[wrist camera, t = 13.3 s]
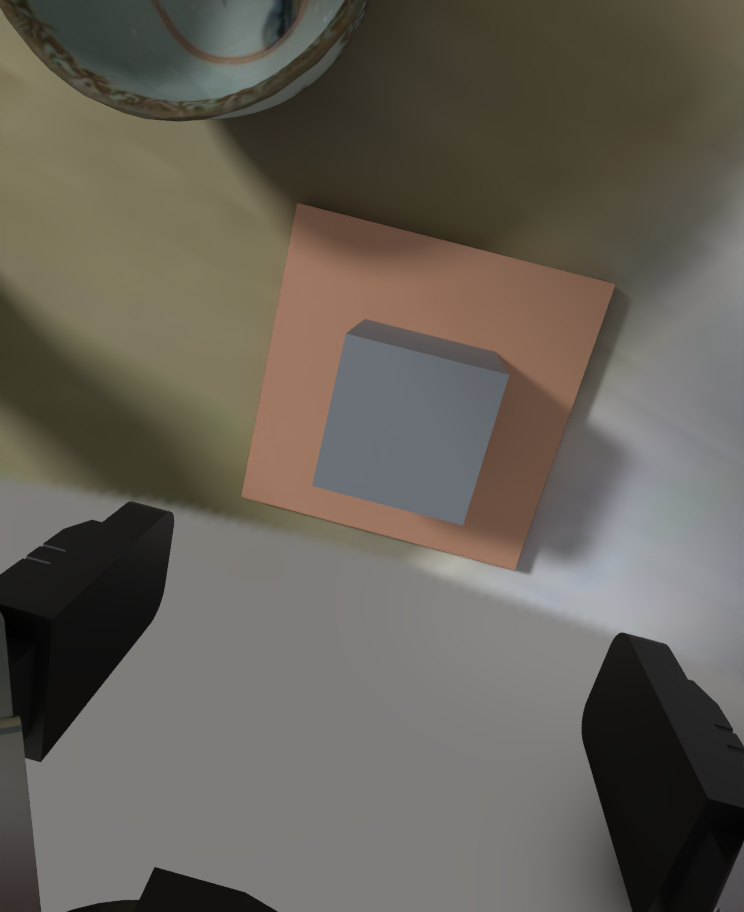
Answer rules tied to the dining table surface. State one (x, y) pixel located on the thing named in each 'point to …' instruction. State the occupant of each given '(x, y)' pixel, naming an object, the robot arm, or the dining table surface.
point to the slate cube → (410, 420)
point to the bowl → (187, 50)
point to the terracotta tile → (437, 314)
